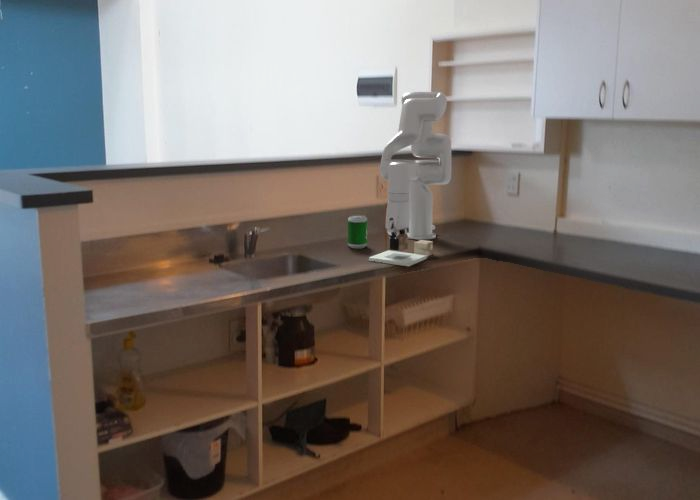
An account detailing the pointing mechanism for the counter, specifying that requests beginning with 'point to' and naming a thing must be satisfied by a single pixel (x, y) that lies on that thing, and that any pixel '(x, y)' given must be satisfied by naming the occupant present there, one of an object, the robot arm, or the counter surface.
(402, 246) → the walnut cube
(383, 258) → the build board
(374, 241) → the counter surface
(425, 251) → the maple cube
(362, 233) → the soda can
